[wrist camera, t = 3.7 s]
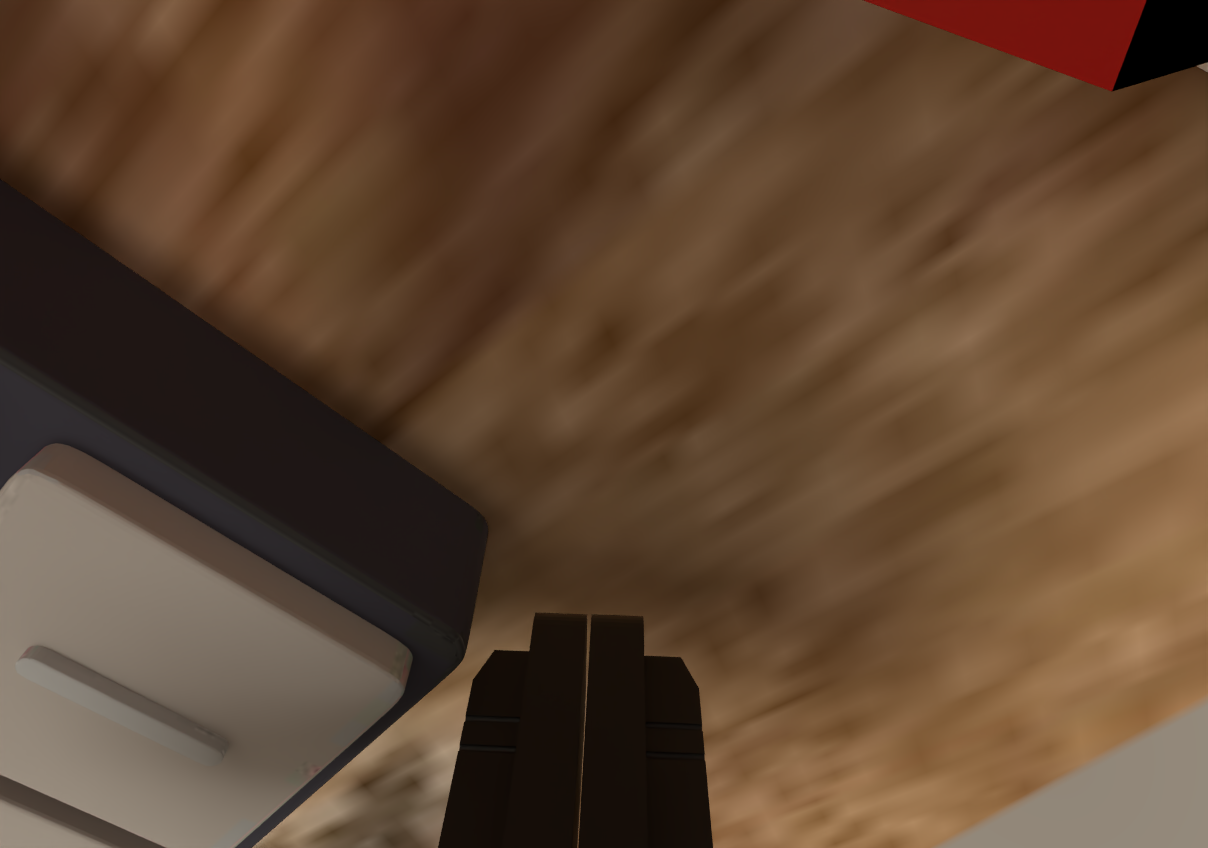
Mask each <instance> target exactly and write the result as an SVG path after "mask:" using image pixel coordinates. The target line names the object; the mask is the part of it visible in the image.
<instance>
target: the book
mask: <svg viewBox="0 0 1208 848" xmlns="http://www.w3.org/2000/svg"><path fill="white" fill-rule="evenodd" d="M864 1H866V2H869V3H872V4H875V5H877V6H880V7H883V8H885V9H888V10H891V11H894V12H896V13H899V14H902V15H905V16H907V17H910V18H913V19H915V20H918V21H921V22H924V23H926V24H929V25H932V26H935V27H937V28H940V29H943V30H945V31H948V32H951V33H954V34H956V35H959V36H962V37H965V38H967V39H970V40H973V41H976V42H978V43H981V44H984V45H986V46H989V47H992V48H995V49H997V50H1000V51H1003V52H1006V53H1008V54H1011V55H1014V56H1016V57H1019V58H1022V59H1025V60H1027V61H1030V62H1033V63H1036V64H1038V65H1041V66H1044V67H1046V68H1049V69H1052V70H1055V71H1057V72H1060V73H1063V74H1066V75H1068V76H1071V77H1074V78H1077V79H1079V80H1082V81H1085V82H1087V83H1090V84H1093V85H1096V86H1098V87H1101V88H1104V89H1107V90H1109V91H1115V90H1118V89H1122V88H1125V87H1128V86H1132V85H1135V84H1138V83H1142V82H1145V81H1148V80H1151V79H1155V78H1158V77H1161V76H1165V75H1168V74H1171V73H1175V72H1178V71H1181V70H1185V69H1188V68H1191V67H1194V66H1197V67H1199V68H1201V69H1202V70H1204V71H1206V72H1208V0H864Z"/></svg>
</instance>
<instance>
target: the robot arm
mask: <svg viewBox="0 0 1208 848" xmlns="http://www.w3.org/2000/svg"><path fill="white" fill-rule="evenodd" d="M586 656H587V615H586V614H560V613H535V616H534V622H533V629H532V636H531V643H530V651H529V652H528V651H503V650H494V652H493V653H492V655H491V656H490V657H489V659H488V660H487V661H486V663H485V664H484V666H483V667H482V668H481V670H480V671H479V672H478V674H477V675H476V676H475V678H474V679H473V683H472V687H471V692H470V697H469V702H468V707H467V711H466V720H465V722H464V726H463V731H462V735H461V740H460V749H459V751H458V755H457V759H456V764H455V769H454V774H453V779H452V783H451V788H450V793H449V798H448V803H447V807H446V812H445V817H444V822H443V827H442V831H441V836H440V841H439V846H438V848H577V845H578V828H579V811H580V828H579V845H578V848H713V842H712V831H711V820H710V809H709V797H708V786H707V775H706V764H705V759H704V755H705V752H704V741H703V731H702V719H701V707H700V696H699V688H698V686H697V685H696V683H695V681H694V679H693V678H692V676H691V674H690V672H689V671H688V669H687V667H686V666H685V664H684V662H683V660H682V659H681V657H661V656H644V621H643V616H618V615H592V617H591V633H590V651H589V668H588V686H587V704H586V722H585V698H586ZM584 723H585V739H584ZM583 741H584V757H583ZM582 759H583V775H582ZM581 776H582V792H581ZM580 793H581V810H580Z"/></svg>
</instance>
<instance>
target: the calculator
mask: <svg viewBox="0 0 1208 848" xmlns="http://www.w3.org/2000/svg"><path fill="white" fill-rule="evenodd" d="M487 536H488V525H487V522H486V520H485V518H484V517H483V516H482V515H481V514H480V513H479V512H478V511H477V510H476V509H474V508H473V507H472V506H470V505H469V504H468V503H466V502H465V501H463V500H462V499H461V498H459V497H458V496H456V495H455V494H453V493H452V492H451V491H449V490H448V489H446V488H445V487H443V486H442V485H440V484H439V483H438V482H436V481H435V480H433V479H432V478H430V477H429V476H428V475H426V474H425V473H423V472H422V471H420V470H419V469H417V468H416V467H415V466H413V465H412V464H410V463H409V462H407V461H406V460H404V459H403V458H402V457H400V456H399V455H397V454H396V453H394V452H393V451H391V450H390V449H389V448H387V447H386V446H384V445H383V444H381V443H380V442H379V441H377V440H376V439H374V438H373V437H371V436H370V435H368V434H367V433H366V432H364V431H363V430H361V429H360V428H358V427H357V426H355V425H354V424H353V423H351V422H350V421H348V420H347V419H345V418H344V417H342V416H341V415H340V414H338V413H337V412H335V411H334V410H332V409H331V408H330V407H328V406H327V405H325V404H324V403H322V402H321V401H319V400H318V399H317V398H315V397H314V396H312V395H311V394H309V393H308V392H306V391H305V390H304V389H302V388H301V387H299V386H298V385H296V384H295V383H293V382H292V381H291V380H289V379H288V378H286V377H285V376H283V375H282V374H281V373H279V372H278V371H276V370H275V369H273V368H272V367H270V366H269V365H268V364H266V363H265V362H263V361H262V360H260V359H259V358H257V357H256V356H255V355H253V354H252V353H250V352H249V351H247V350H246V349H244V348H243V347H242V346H240V345H239V344H237V343H236V342H234V341H233V340H231V339H230V338H229V337H227V336H226V335H224V334H223V333H221V332H220V331H219V330H217V329H216V328H214V327H213V326H211V325H210V324H208V323H207V322H206V321H204V320H203V319H201V318H200V317H198V316H197V315H195V314H194V313H193V312H191V311H190V310H188V309H187V308H185V307H184V306H182V305H181V304H180V303H178V302H177V301H175V300H174V299H172V298H171V297H170V296H168V295H167V294H165V293H164V292H162V291H161V290H159V289H158V288H157V287H155V286H154V285H152V284H151V283H149V282H148V281H146V280H145V279H144V278H142V277H141V276H139V275H138V274H136V273H135V272H133V271H132V270H131V269H129V268H128V267H126V266H125V265H123V264H122V263H121V262H119V261H118V260H116V259H115V258H113V257H112V256H110V255H109V254H108V253H106V252H105V251H103V250H102V249H100V248H99V247H97V246H96V245H95V244H93V243H92V242H90V241H89V240H87V239H86V238H84V237H83V236H82V235H80V234H79V233H77V232H76V231H74V230H73V229H72V228H70V227H69V226H67V225H66V224H64V223H63V222H61V221H60V220H59V219H57V218H56V217H54V216H53V215H51V214H50V213H48V212H47V211H46V210H44V209H43V208H41V207H40V206H38V205H37V204H35V203H34V202H33V201H31V200H30V199H28V198H27V197H25V196H24V195H23V194H21V193H20V192H18V191H17V190H15V189H14V188H12V187H11V186H10V185H8V184H7V183H5V182H4V181H2V180H1V179H0V848H252V847H253V846H254V845H255V844H256V843H258V842H259V841H260V840H261V839H262V838H263V837H264V836H266V835H267V834H268V833H269V832H270V831H271V830H272V829H274V828H275V827H276V826H277V825H278V824H279V823H280V822H282V821H283V820H284V819H285V818H286V817H287V816H288V815H290V814H291V813H292V812H293V811H294V810H295V809H296V808H298V807H299V806H300V805H301V804H302V803H303V802H304V801H305V800H307V799H308V798H309V797H310V796H311V795H312V794H313V793H315V792H316V791H317V790H318V789H319V788H320V787H321V786H323V785H324V784H325V783H326V782H327V781H328V780H329V779H331V778H332V777H333V776H334V775H335V774H336V773H337V772H339V771H340V770H341V769H342V768H343V767H344V766H345V765H347V764H348V763H349V762H350V761H351V760H352V759H353V758H355V757H356V756H357V755H358V754H359V753H360V752H361V751H363V750H364V749H365V748H366V747H367V746H368V745H369V744H371V743H372V742H373V741H374V740H375V739H376V738H377V737H378V736H380V735H381V734H382V733H383V732H384V731H385V730H386V729H388V728H389V727H390V726H391V725H392V724H393V723H394V722H396V721H397V720H398V719H399V718H400V717H401V716H402V715H404V714H405V713H406V712H407V711H408V710H409V709H410V708H412V707H413V706H414V705H415V704H416V703H417V702H418V701H420V700H421V699H422V698H423V697H424V696H425V695H426V694H428V693H429V692H430V691H431V690H432V689H433V688H434V687H436V686H437V685H438V684H439V683H440V682H441V681H442V680H444V679H445V678H446V677H447V676H448V675H449V674H450V673H451V672H452V671H453V670H454V669H455V668H456V667H457V666H458V665H459V664H460V663H461V661H462V660H463V658H464V656H465V652H466V649H467V644H468V639H469V634H470V629H471V624H472V619H473V614H474V609H475V603H476V597H477V592H478V586H479V581H480V575H481V570H482V564H483V559H484V553H485V548H486V542H487Z"/></svg>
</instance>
